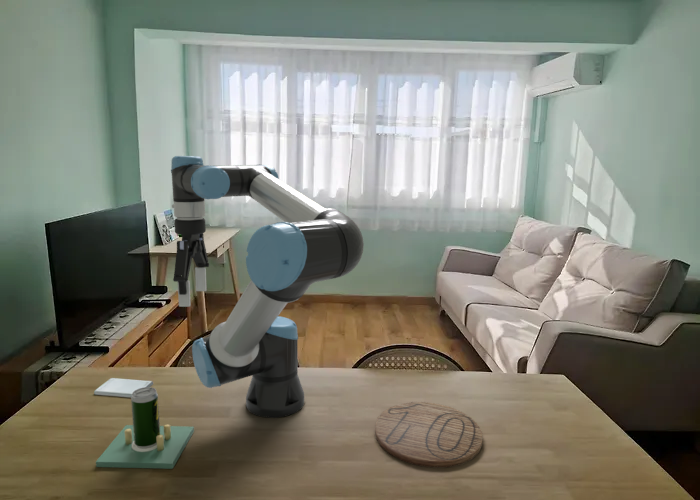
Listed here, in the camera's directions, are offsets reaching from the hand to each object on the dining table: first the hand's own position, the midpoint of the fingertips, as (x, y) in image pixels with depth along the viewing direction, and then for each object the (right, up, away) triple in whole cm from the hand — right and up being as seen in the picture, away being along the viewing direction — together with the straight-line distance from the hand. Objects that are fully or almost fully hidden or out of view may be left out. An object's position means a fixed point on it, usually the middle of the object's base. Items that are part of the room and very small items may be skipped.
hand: (193, 298), depth 131 cm
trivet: (+59, -32, -13) cm, 69 cm away
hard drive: (-21, -26, +7) cm, 34 cm away
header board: (-4, -31, -20) cm, 37 cm away
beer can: (-4, -30, -20) cm, 37 cm away
